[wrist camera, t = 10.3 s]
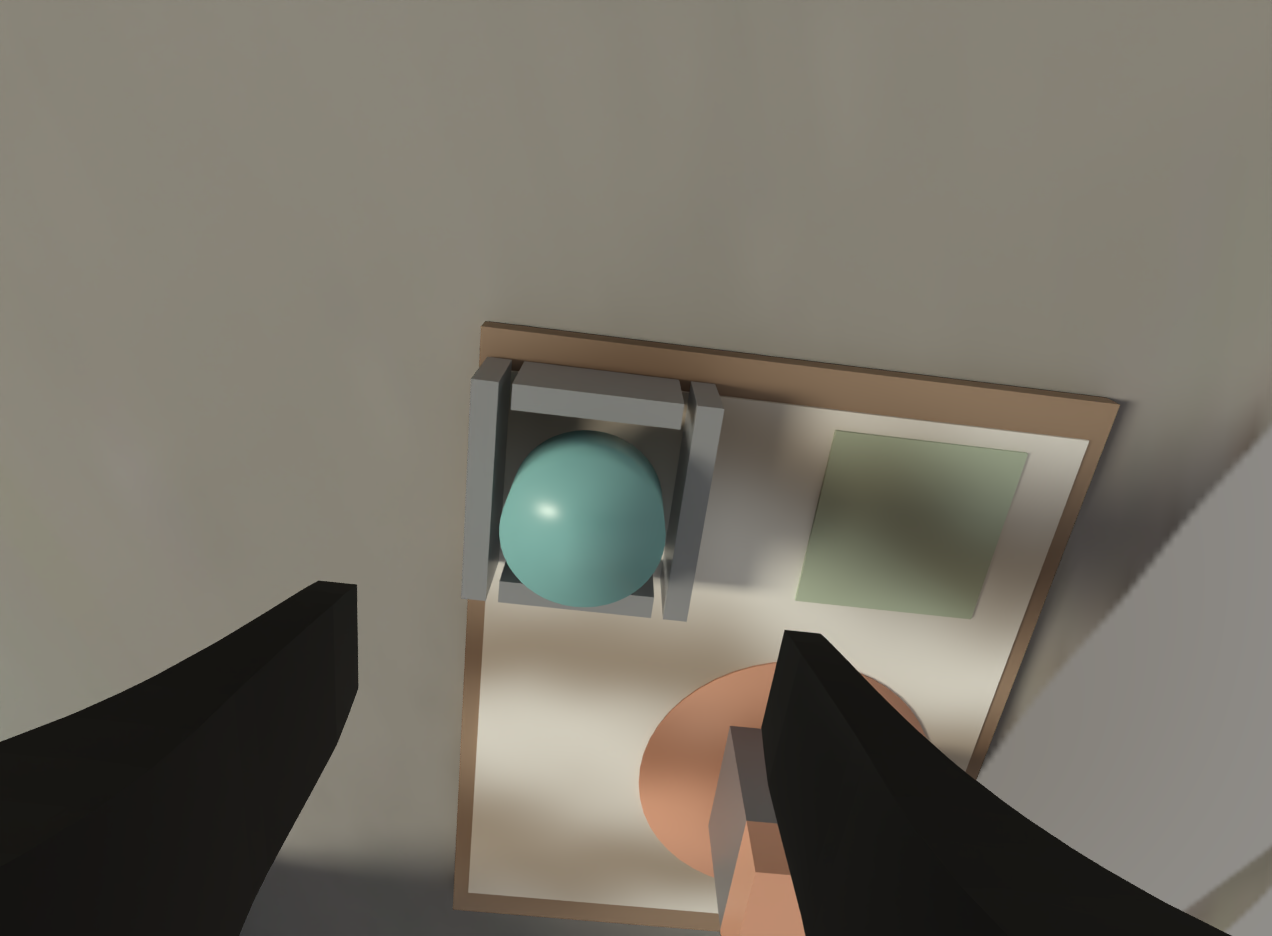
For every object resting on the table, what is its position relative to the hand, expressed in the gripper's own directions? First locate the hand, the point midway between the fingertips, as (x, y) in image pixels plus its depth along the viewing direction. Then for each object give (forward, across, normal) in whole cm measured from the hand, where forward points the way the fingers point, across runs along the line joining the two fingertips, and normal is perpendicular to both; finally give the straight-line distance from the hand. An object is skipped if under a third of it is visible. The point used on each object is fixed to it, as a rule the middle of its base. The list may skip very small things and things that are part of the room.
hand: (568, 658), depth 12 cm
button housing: (+8, 0, 0) cm, 8 cm away
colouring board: (+8, -5, +6) cm, 12 cm away
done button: (+6, 0, 0) cm, 6 cm away
